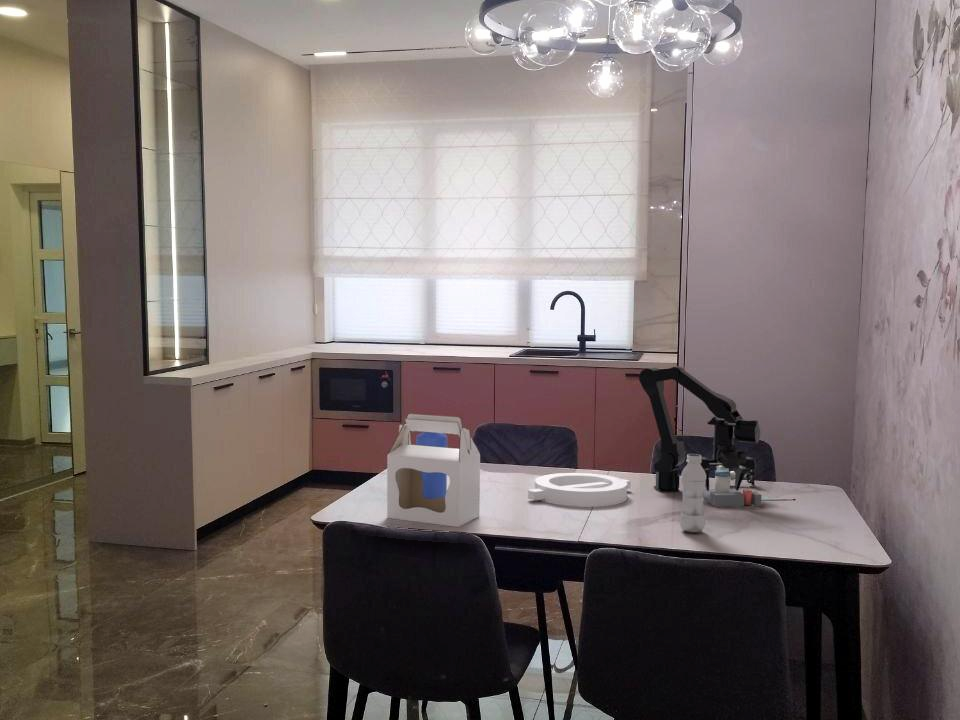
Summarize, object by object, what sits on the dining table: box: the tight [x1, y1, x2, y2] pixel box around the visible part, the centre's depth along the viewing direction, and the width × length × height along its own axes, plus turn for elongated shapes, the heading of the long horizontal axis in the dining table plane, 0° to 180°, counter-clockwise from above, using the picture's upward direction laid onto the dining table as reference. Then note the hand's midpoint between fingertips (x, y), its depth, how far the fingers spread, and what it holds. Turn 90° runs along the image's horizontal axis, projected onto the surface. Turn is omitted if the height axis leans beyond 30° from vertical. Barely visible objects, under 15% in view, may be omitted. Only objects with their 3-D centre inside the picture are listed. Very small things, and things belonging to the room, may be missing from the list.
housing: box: [703, 488, 762, 508], centre depth 256 cm, size 14×19×4 cm
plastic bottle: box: [679, 453, 706, 534], centre depth 218 cm, size 6×7×20 cm
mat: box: [761, 496, 790, 501], centre depth 260 cm, size 12×10×1 cm
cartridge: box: [714, 469, 731, 492], centre depth 259 cm, size 5×5×8 cm
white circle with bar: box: [527, 472, 632, 508], centre depth 259 cm, size 28×28×5 cm
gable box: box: [386, 413, 481, 528], centre depth 230 cm, size 22×13×28 cm, turn 65°
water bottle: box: [415, 432, 448, 499], centre depth 251 cm, size 9×9×25 cm
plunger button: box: [742, 489, 753, 506], centre depth 249 cm, size 3×3×4 cm
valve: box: [716, 466, 756, 486], centre depth 277 cm, size 7×7×12 cm
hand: (722, 490), depth 259 cm, fingers open, 9 cm apart
